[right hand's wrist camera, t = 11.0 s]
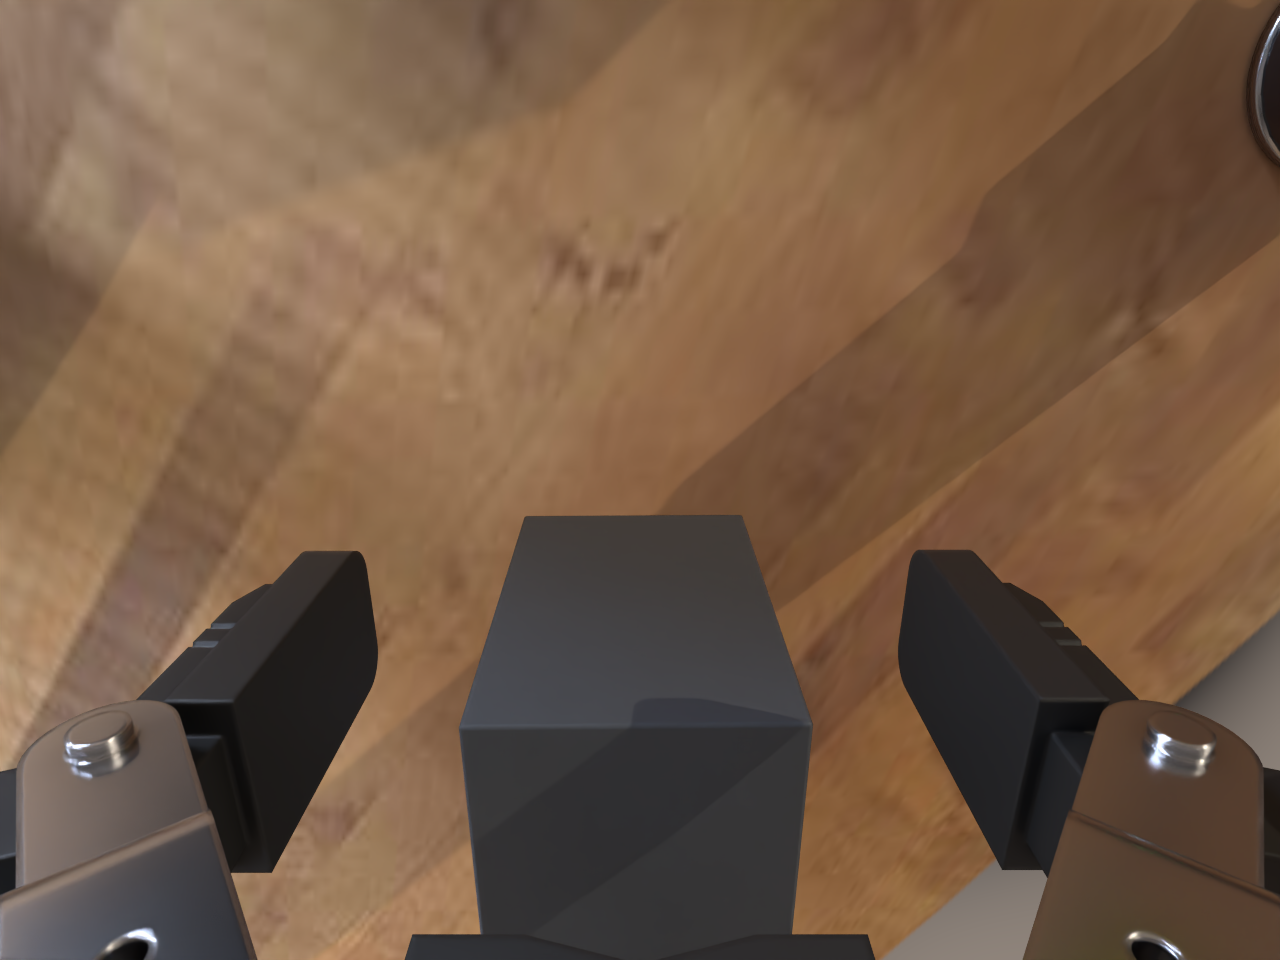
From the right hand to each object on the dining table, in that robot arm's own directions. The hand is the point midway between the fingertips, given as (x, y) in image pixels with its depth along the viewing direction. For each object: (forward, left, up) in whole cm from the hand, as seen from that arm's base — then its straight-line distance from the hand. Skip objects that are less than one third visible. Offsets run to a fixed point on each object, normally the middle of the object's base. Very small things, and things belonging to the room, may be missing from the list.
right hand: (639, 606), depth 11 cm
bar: (+14, +4, -9) cm, 17 cm away
